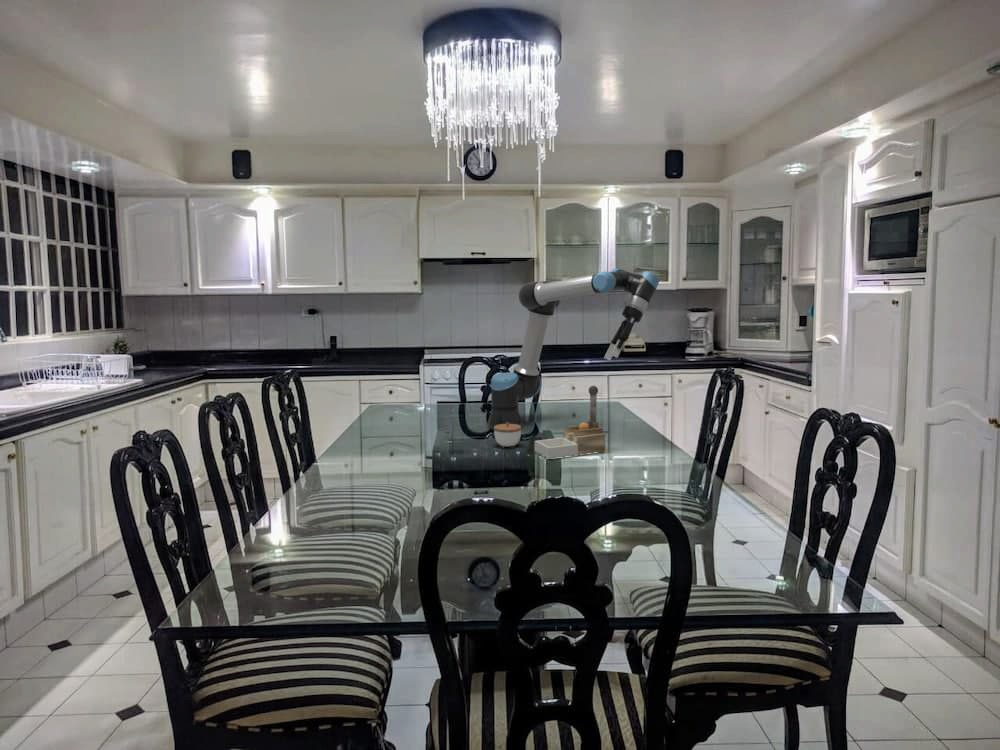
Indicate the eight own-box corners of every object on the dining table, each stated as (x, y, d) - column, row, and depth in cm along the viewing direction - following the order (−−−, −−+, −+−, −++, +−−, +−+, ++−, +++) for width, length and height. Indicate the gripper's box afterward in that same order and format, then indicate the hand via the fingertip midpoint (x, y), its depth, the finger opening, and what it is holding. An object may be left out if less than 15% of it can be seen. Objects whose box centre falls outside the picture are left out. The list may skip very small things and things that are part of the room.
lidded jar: (498, 450, 281) (497, 426, 279) (491, 443, 291) (490, 420, 289) (524, 447, 284) (524, 424, 282) (516, 441, 294) (516, 418, 292)
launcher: (563, 449, 281) (563, 426, 279) (590, 445, 285) (590, 423, 284) (577, 455, 271) (577, 432, 269) (605, 452, 275) (605, 428, 274)
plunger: (586, 430, 280) (586, 385, 277) (594, 429, 281) (594, 384, 278) (592, 432, 276) (592, 387, 273) (600, 431, 277) (600, 386, 274)
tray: (534, 452, 276) (534, 440, 276) (562, 448, 281) (562, 437, 280) (549, 460, 266) (548, 448, 265) (577, 456, 270) (577, 444, 269)
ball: (576, 432, 278) (576, 422, 277) (585, 431, 279) (586, 420, 279) (582, 434, 274) (582, 424, 274) (591, 433, 276) (591, 423, 275)
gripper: (651, 309, 271) (626, 359, 269) (635, 318, 295) (612, 364, 294) (633, 299, 271) (608, 350, 269) (619, 309, 295) (596, 356, 294)
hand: (610, 357), depth 281 cm, fingers open, 13 cm apart
